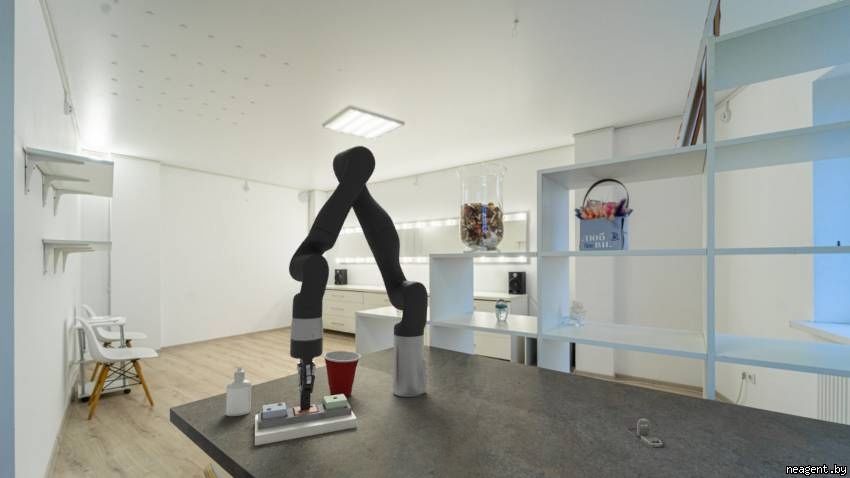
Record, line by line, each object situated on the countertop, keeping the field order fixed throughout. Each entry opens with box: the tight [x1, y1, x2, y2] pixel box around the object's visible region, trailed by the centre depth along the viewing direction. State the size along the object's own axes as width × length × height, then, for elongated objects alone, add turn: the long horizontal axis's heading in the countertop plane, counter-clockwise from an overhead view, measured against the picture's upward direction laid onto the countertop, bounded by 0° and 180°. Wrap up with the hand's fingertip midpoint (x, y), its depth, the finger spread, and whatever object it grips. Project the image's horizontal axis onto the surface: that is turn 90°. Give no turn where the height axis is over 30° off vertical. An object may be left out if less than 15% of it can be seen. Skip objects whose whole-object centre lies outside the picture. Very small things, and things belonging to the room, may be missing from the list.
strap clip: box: [626, 418, 664, 448], centre depth 84 cm, size 8×3×4 cm, turn 6°
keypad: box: [254, 401, 358, 446], centre depth 89 cm, size 22×12×4 cm, turn 114°
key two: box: [262, 401, 288, 419], centre depth 87 cm, size 5×4×2 cm
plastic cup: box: [323, 350, 362, 399], centre depth 109 cm, size 11×11×12 cm
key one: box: [322, 394, 348, 409], centre depth 92 cm, size 5×4×2 cm
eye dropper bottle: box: [225, 365, 252, 417], centre depth 96 cm, size 4×6×12 cm
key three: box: [293, 403, 318, 416], centre depth 89 cm, size 5×4×2 cm
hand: (305, 408), depth 89 cm, fingers closed
